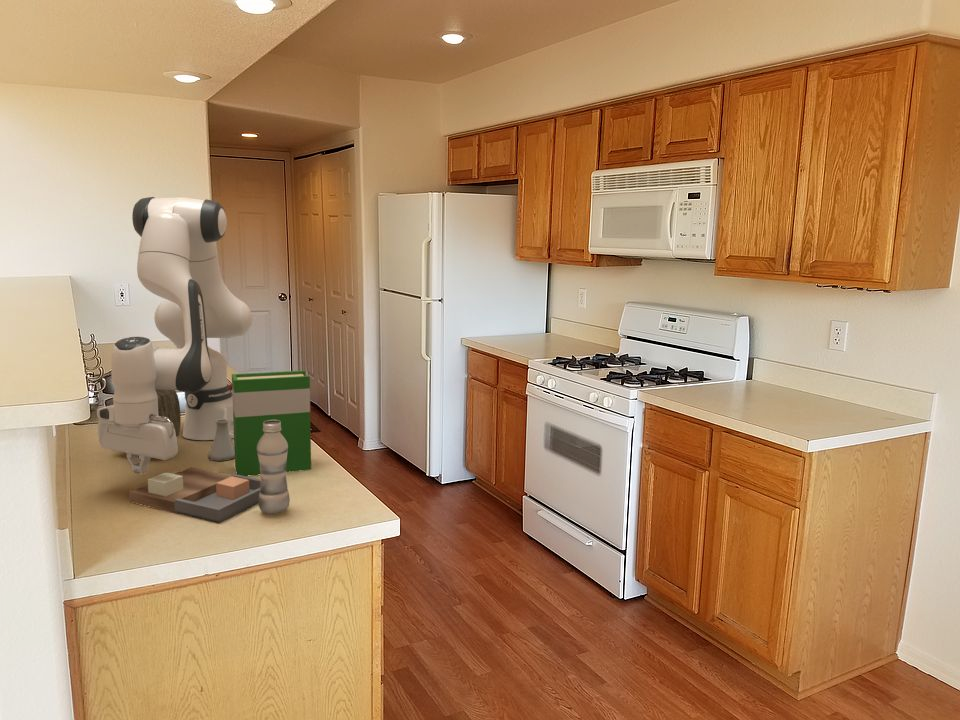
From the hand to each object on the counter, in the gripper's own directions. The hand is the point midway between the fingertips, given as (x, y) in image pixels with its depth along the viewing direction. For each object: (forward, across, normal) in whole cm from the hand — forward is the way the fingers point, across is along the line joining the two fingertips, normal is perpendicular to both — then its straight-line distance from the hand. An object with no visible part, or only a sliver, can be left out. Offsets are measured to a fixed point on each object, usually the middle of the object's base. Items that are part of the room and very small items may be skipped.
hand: (139, 472), depth 163 cm
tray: (+6, -20, -5) cm, 21 cm away
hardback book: (+6, -14, -28) cm, 32 cm away
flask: (+6, +3, -29) cm, 30 cm away
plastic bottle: (+6, -32, -6) cm, 33 cm away
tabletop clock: (+5, +21, -21) cm, 31 cm away
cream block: (+3, -7, 0) cm, 8 cm away
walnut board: (+6, -7, -5) cm, 11 cm away
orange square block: (+5, -18, -9) cm, 21 cm away
